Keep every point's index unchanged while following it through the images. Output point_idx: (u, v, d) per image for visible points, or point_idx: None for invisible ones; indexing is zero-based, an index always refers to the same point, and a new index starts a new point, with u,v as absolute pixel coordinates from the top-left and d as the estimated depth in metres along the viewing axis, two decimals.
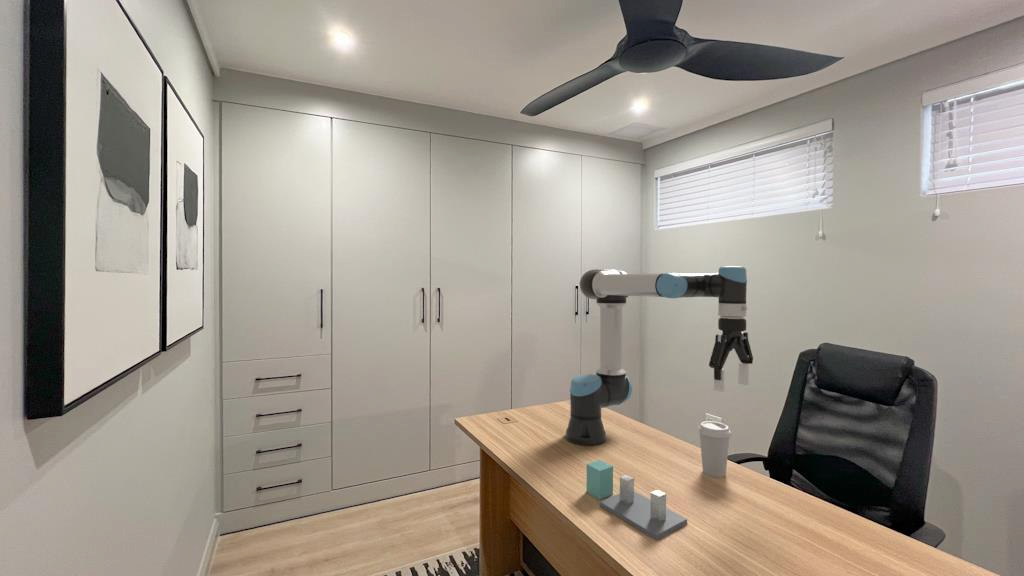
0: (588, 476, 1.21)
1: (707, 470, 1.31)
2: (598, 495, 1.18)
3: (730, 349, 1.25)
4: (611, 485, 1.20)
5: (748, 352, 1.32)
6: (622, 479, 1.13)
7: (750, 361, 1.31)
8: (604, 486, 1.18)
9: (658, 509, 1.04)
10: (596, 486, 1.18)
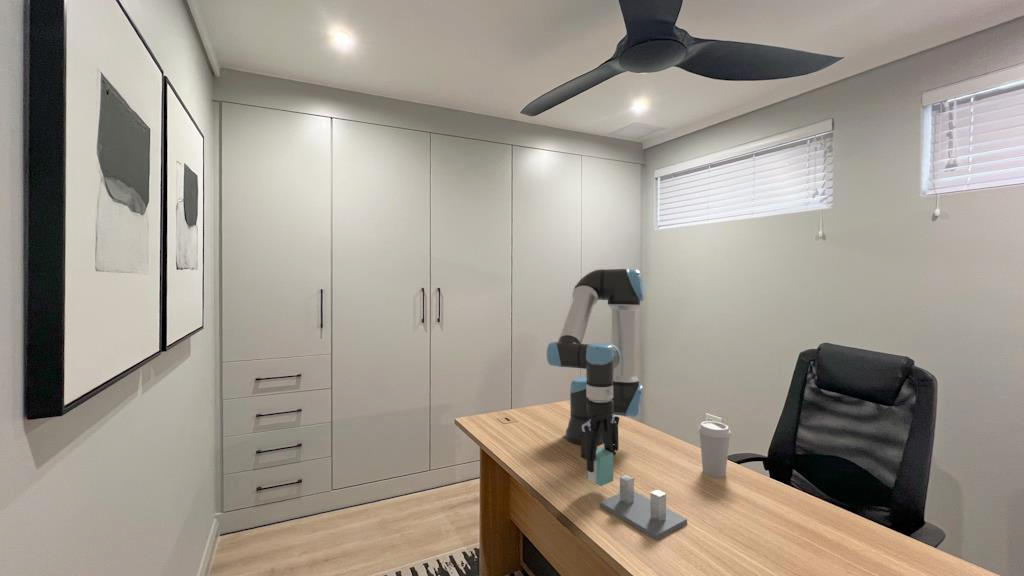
0: None
1: (707, 470, 1.31)
2: (598, 482, 1.18)
3: (598, 436, 1.18)
4: (611, 472, 1.20)
5: (614, 439, 1.23)
6: (622, 479, 1.13)
7: (613, 452, 1.22)
8: (604, 473, 1.18)
9: (658, 509, 1.04)
10: None
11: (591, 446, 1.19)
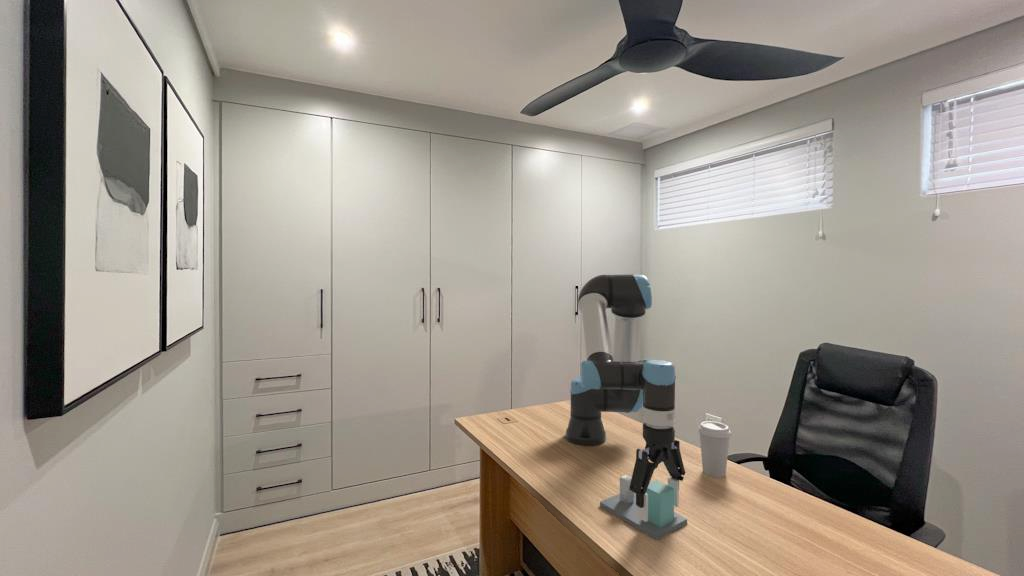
0: None
1: (707, 470, 1.31)
2: (658, 522, 1.02)
3: (655, 467, 1.02)
4: (672, 510, 1.04)
5: (679, 465, 1.08)
6: (622, 479, 1.13)
7: (681, 477, 1.08)
8: (664, 512, 1.03)
9: None
10: (656, 512, 1.03)
11: (644, 477, 1.02)
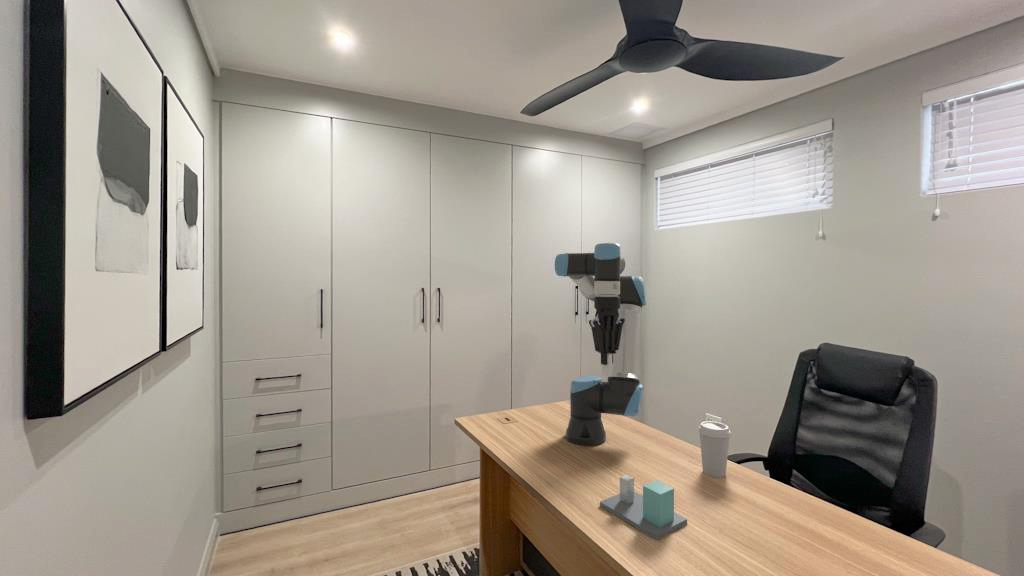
0: (645, 499, 1.05)
1: (707, 470, 1.31)
2: (658, 522, 1.02)
3: (608, 330, 1.24)
4: (672, 510, 1.04)
5: (616, 339, 1.27)
6: (622, 479, 1.13)
7: (614, 351, 1.25)
8: (664, 512, 1.03)
9: None
10: (656, 512, 1.03)
11: (603, 340, 1.24)
